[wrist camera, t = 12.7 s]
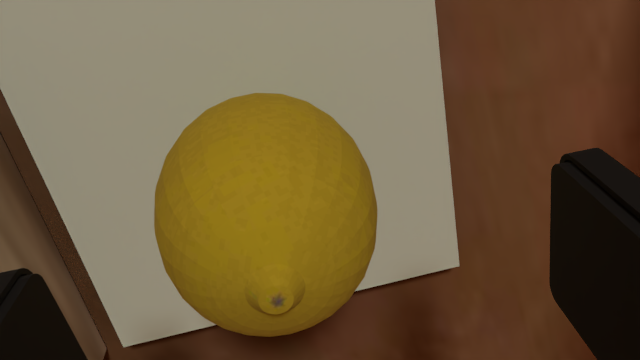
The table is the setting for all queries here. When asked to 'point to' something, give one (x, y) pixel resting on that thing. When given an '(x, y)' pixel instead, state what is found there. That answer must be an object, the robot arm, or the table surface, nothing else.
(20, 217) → the brown wooden tray
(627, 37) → the table surface
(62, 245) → the table surface
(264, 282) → the lemon
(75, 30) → the board
